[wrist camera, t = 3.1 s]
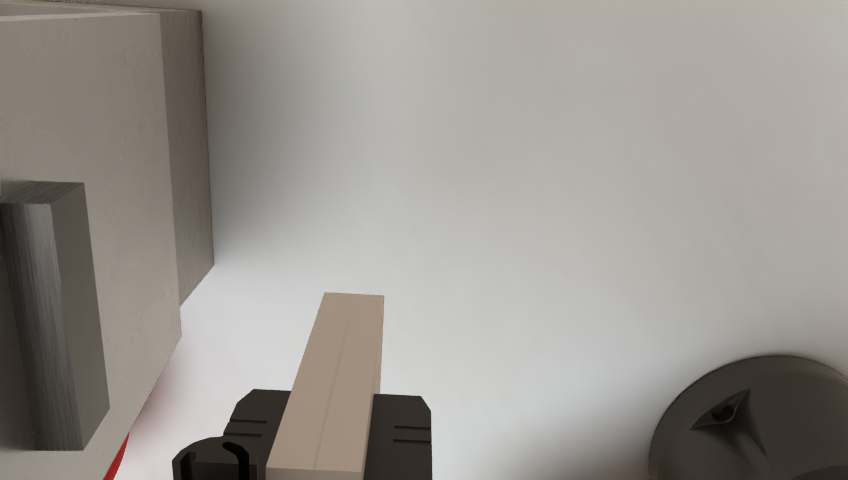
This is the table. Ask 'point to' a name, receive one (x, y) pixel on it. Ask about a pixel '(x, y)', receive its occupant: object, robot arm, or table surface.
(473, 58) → the table surface
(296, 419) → the robot arm
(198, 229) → the grey rectangular box
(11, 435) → the lid
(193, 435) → the table surface
